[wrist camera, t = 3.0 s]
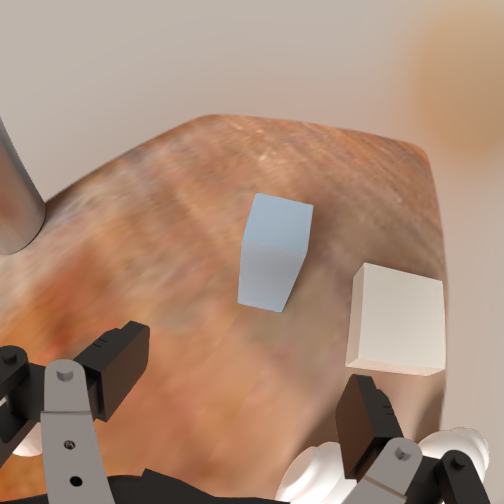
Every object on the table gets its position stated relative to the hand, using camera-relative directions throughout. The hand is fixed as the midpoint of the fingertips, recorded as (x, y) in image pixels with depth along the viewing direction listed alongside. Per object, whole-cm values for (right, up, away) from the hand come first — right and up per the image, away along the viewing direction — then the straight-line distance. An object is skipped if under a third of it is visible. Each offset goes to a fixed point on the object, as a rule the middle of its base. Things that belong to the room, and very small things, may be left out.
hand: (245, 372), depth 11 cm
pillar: (+1, +1, +17) cm, 17 cm away
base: (+14, -3, +16) cm, 21 cm away
